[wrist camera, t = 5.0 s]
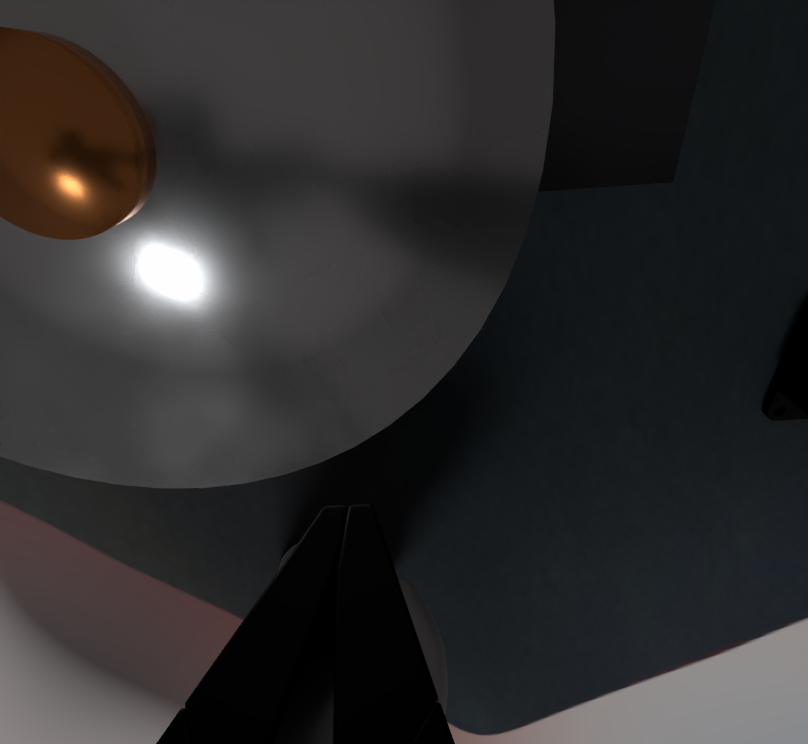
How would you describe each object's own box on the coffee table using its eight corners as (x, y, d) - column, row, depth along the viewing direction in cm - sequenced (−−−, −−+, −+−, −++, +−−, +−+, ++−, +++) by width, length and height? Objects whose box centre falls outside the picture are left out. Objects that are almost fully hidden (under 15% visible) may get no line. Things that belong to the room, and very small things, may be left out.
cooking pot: (655, -381, 10) (938, -860, 5) (562, 320, 18) (625, 416, 13) (-438, -280, 10) (-1255, -616, 5) (-24, 358, 19) (-175, 465, 14)
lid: (618, -1038, 4) (756, -1724, 3) (511, 441, 13) (527, 492, 12) (-1127, -830, 5) (-1963, -1327, 3) (-71, 476, 14) (-134, 530, 12)
